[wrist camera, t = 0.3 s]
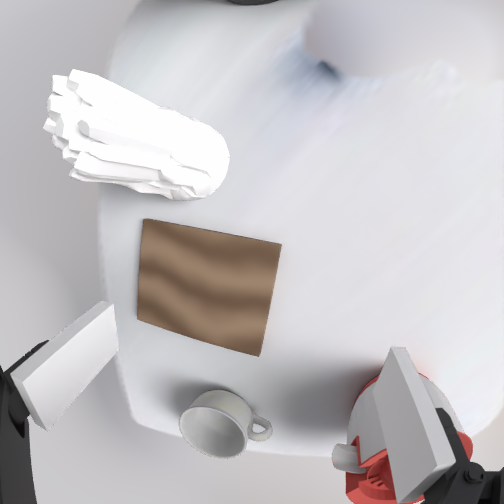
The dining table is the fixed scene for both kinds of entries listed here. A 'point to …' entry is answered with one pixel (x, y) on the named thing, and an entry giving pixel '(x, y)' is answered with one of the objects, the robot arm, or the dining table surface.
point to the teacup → (221, 424)
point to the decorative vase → (132, 140)
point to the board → (206, 284)
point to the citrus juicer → (378, 448)
